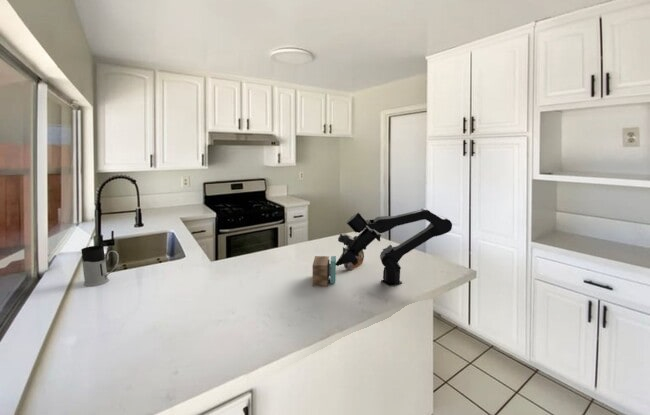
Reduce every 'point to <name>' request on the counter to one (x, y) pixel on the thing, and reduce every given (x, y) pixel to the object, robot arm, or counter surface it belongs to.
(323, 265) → the block
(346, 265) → the tin
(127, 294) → the counter surface
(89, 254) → the grey black mug
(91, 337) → the counter surface
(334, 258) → the teal flanged block
